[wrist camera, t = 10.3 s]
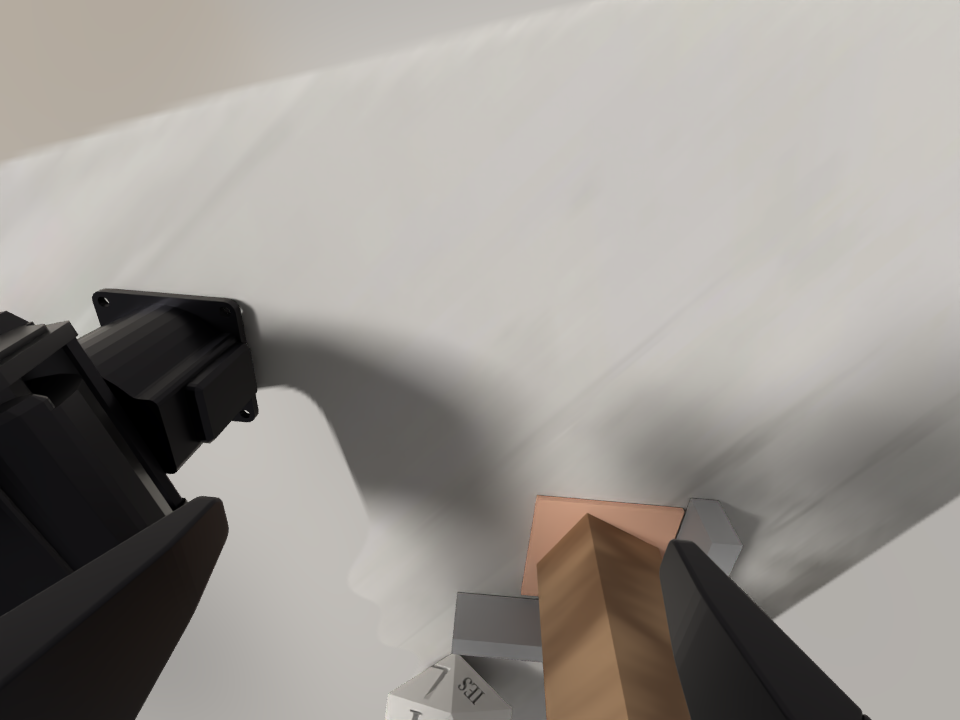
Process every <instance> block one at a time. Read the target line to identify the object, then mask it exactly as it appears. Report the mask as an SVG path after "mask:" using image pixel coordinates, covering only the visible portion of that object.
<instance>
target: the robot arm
mask: <svg viewBox="0 0 960 720" xmlns="http://www.w3.org/2000/svg"><path fill="white" fill-rule="evenodd" d="M105 298H106V299H107V300H108V301H109V303H108V302H107V301H106V300H105ZM92 301H93V304H94V307H95V310H96V313H97V316H98V319H99V322H100V325H101V327H99V328H97V329H95V330H94V331H92V332H90V333H88V334H86V335H84V336H82V337H80V338H79V339H76V336H78V334H77V332H76V331H75V329H74V328H73V326H72V325H71V323H70V322H69V321H64V322H59V323H54V324H49V325H45V324H40V325H35V324H34V323H33V322H28V321H26V320H24V319H22V318H20V317H18V316H16V315H14V314H12V313H9V312H7V311H4V312H0V720H135V719H136V717H137V715H138V713H139V711H140V710H141V708H142V706H143V704H144V703H145V701H146V699H147V697H148V695H149V694H150V692H151V690H152V688H153V686H154V685H155V683H156V681H157V679H158V677H159V675H160V674H161V672H162V670H163V668H164V667H165V665H166V663H167V661H168V660H169V658H170V656H171V654H172V652H173V651H174V649H175V647H176V645H177V643H178V642H179V640H180V638H181V636H182V634H183V633H184V631H185V629H186V627H187V625H188V623H189V622H190V620H191V618H192V616H193V614H194V612H195V610H196V608H197V606H198V603H199V601H200V599H201V597H202V594H203V592H204V590H205V588H206V585H207V583H208V581H209V578H210V576H211V574H212V572H213V569H214V567H215V565H216V562H217V560H218V558H219V555H220V553H221V551H222V548H223V546H224V544H225V542H226V539H227V536H228V530H229V527H228V522H227V518H226V514H225V510H224V506H223V502H222V501H221V499H219V498H216V497H206V496H200V497H197V498H195V499H193V500H191V501H190V502H187V500H186V499H185V498H181V496H180V495H179V493H178V492H177V490H176V489H175V487H174V485H173V484H172V483H171V481H170V479H169V478H168V477H167V475H166V474H167V473H168V474H174V473H175V472H177V471H178V470H179V469H180V467H181V466H182V465H183V464H184V463H185V462H186V461H187V460H188V459H189V458H190V457H191V455H192V454H193V453H194V452H195V451H196V450H197V449H198V448H199V447H200V446H201V444H202V443H211V442H212V441H213V440H215V438H217V436H218V435H219V434H220V433H221V432H222V431H223V430H224V428H225V427H226V426H227V425H228V424H229V423H230V422H231V421H239V422H251V421H253V420H254V419H255V417H256V416H257V415H258V405H257V400H256V393H257V385H256V380H255V374H254V368H253V363H252V357H251V352H250V348H249V346H248V345H247V344H246V338H245V333H244V327H243V322H242V316H241V311H240V308H239V305H238V304H237V303H236V302H235V301H233V300H231V299H227V298H215V297H203V296H191V295H179V294H167V293H155V292H143V291H131V290H119V289H102V290H99V291H97V292H95V293H94V294H93V296H92ZM224 307H226V308H228V309H229V310H230V314H228V313H227V312H226V311H225V310H224ZM244 410H247V411H248V412H249V413H250V414H249V413H246V412H245V411H244ZM659 576H660V583H661V589H662V595H663V600H664V606H665V612H666V617H667V623H668V629H669V634H670V640H671V646H672V651H673V656H674V660H675V664H676V668H677V672H678V675H679V679H680V682H681V686H682V690H683V693H684V697H685V700H686V704H687V707H688V711H689V714H690V718H691V720H871V719H870V718H869V717H868V716H867V715H862V711H861V709H860V708H859V707H858V706H857V705H856V704H855V703H854V702H853V701H852V700H851V699H850V698H849V697H848V696H847V695H846V694H845V693H844V692H843V691H842V690H841V689H840V688H839V687H838V686H837V685H836V684H835V683H834V682H833V681H832V680H831V679H830V678H829V677H828V676H827V675H826V674H825V673H824V672H823V671H822V670H821V669H820V668H819V667H818V666H817V665H816V664H815V663H814V662H813V661H812V660H811V659H810V658H809V657H808V656H807V655H806V654H805V653H804V652H803V651H802V650H801V649H800V648H799V647H798V646H797V645H796V644H795V643H794V642H793V641H792V640H791V639H790V638H789V637H788V636H787V635H786V634H785V633H784V632H783V631H782V630H781V629H780V628H779V627H778V626H777V625H776V624H775V623H774V622H773V621H772V620H771V619H770V618H769V617H768V616H767V615H766V614H765V613H764V612H763V611H762V610H761V609H760V608H759V607H758V606H757V605H756V603H755V602H754V601H753V600H752V599H751V598H750V597H749V596H748V595H747V594H746V593H745V592H744V591H743V590H742V589H741V588H740V587H739V586H738V585H737V584H736V583H735V582H734V581H733V580H732V579H731V578H730V577H729V576H728V575H727V574H726V573H725V572H724V571H723V570H722V569H721V568H720V567H719V566H718V565H717V564H716V563H715V562H714V561H713V560H712V559H711V558H710V557H709V556H708V555H707V554H706V553H705V552H704V551H703V550H702V549H701V548H700V547H699V546H698V545H697V544H696V543H694V542H693V541H691V540H683V539H672V540H670V541H669V543H668V546H667V548H666V551H665V554H664V557H663V559H662V562H661V565H660V570H659Z"/></svg>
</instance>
